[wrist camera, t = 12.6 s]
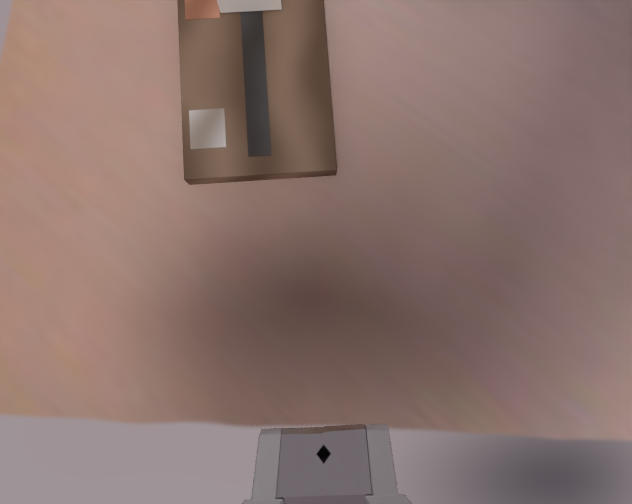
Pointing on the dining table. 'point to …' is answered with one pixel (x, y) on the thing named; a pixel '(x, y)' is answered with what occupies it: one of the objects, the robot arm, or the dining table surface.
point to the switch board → (255, 93)
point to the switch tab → (248, 5)
